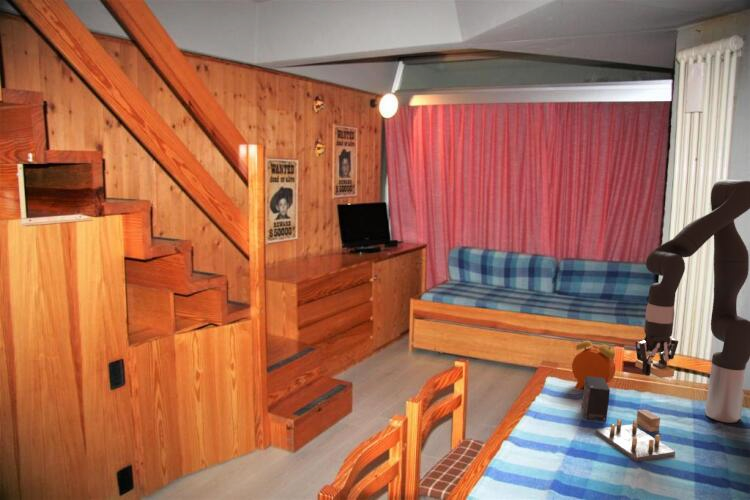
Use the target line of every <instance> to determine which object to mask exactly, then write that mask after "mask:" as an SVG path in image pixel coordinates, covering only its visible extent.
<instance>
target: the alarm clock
mask: <svg viewBox="0 0 750 500" xmlns="http://www.w3.org/2000/svg"><path fill="white" fill-rule="evenodd" d="M589 334H590V335H593V333H592V332H589V333H587V334H586V335H587V336H586V338H588V337H589ZM594 335H595V336H597V334H596V333H594ZM598 336H599V337H602V335H600V334H598ZM603 337H604V339H605V340H604V343H603V344H600V345H599V346H597V345H593V343H592V342H591V341H590V340H587V339H586V340H583V339H581V342H578V343H577V344H576V346H575V349H576V351H579V350H582V351H580V352H579V353H577V354H576V355H575V356H574V358H573V360H572V363H571V369H572V374H573V376H574V378H575V379H576V380H577V383H575V386H574V388H575V389H578V390H581V389H584V383H585V376H590V377H598V378H604V379H605V381H606V383H607V384H608V383H610V382H611V381H612V380H613V378H614V377H615V373H616V364H615V362H614V361H615V360H614V357H615V355H616V353H615V350H614V349H613V348H612V347H611V346H610V345H608V344H606V342H607V340H606V338H607V337H606V336H605V335H604V336H603ZM591 346H592V347H591ZM588 347H589V348H588ZM583 349H584V350H583Z"/></svg>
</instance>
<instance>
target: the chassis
mask: <svg viewBox="0 0 750 500" xmlns="http://www.w3.org/2000/svg"><path fill="white" fill-rule="evenodd" d="M622 422H623V420H622V419H617V421H616V424H614V423H611V424H610V426H609V427H603V428H595V433H594V434H596V435H597V436H599V437H600V438H602V439H603V440H605V441H606V442H607V443H609V444H610V445H611V446H613V447H615V449H617V450H618V451H620V452H622V453H623V454H625V455H626V456H628V457H629V458H630V459H631V460H633V461H635V462H643V461H647V460H648V461H649V460H656V459H662V458H669V457H675V456H676V451H675V450H674V449H672V448H671V447H669V446H667V445H666V444H664V443H662V442H661V435H660V434H655V435H654V437H653V436H651V435H649V434H648V433H646V432H645V431H643V430H641V429H640V428H638V424H637V423H638V422H637V420H633V421H632V424H631V423H630V424H624V425H623V424H622Z"/></svg>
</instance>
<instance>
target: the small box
mask: <svg viewBox="0 0 750 500" xmlns="http://www.w3.org/2000/svg"><path fill="white" fill-rule="evenodd" d="M610 392H611V390H610V388H609V385H608V383H606V381H605V379H604V378H598V377H590V376H585V383H584V387H583V393H582V394H583V395H582V402H581V408H582V411H583V413H584V417H585V419H586V420H591V421H592V420H593V421H601V422H606V421H607V418H608V409H609V400H610Z"/></svg>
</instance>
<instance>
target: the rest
mask: <svg viewBox="0 0 750 500" xmlns="http://www.w3.org/2000/svg"><path fill="white" fill-rule="evenodd" d="M636 421H637V422H638V423H637V425H638V426H640V427H642V428H644V429H645V430H647V431H649V432H651V433H653V432H659V430H660V424H661V423H660V421H661V418H660V417H659V416H657V415H655V414H653V413H652V412H650V411H649V410H647V409H640V410H637V413H636Z"/></svg>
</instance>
